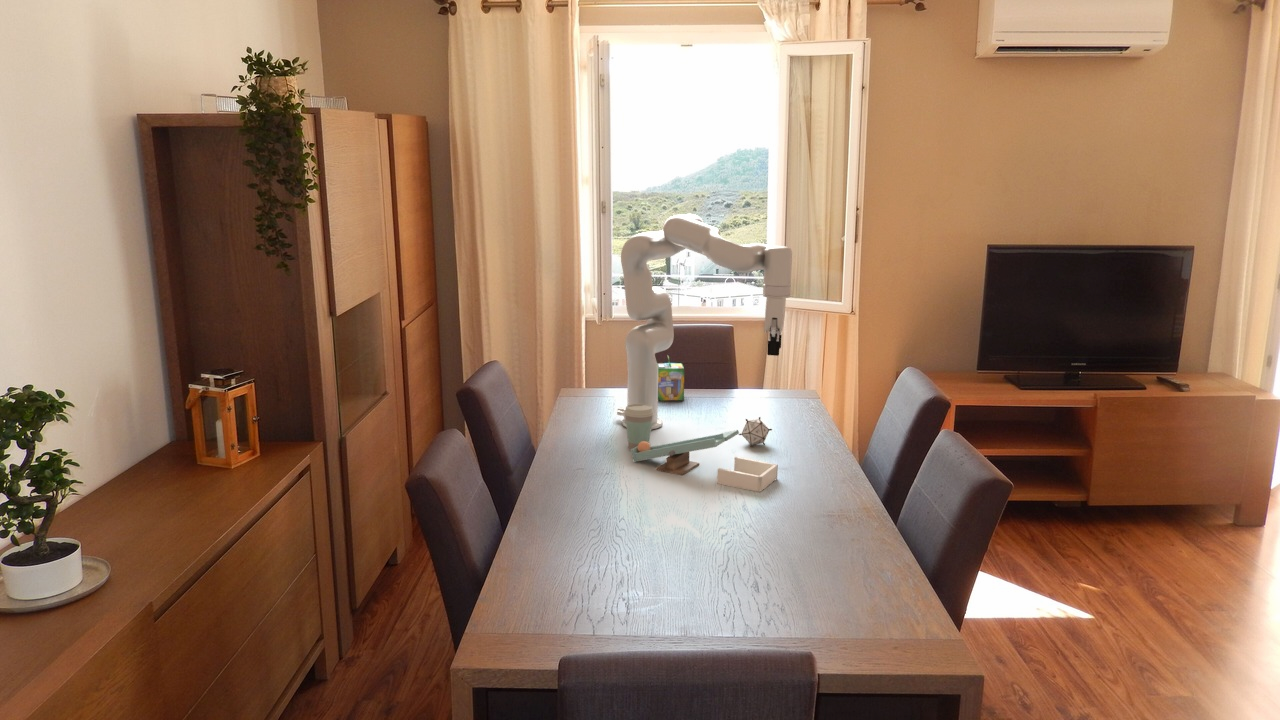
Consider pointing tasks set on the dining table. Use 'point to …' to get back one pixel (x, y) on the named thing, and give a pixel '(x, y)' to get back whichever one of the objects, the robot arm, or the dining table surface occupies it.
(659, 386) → the chalk box
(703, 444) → the lever
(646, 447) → the ball
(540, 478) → the dining table surface
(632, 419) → the coffee cup
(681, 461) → the fulcrum
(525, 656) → the dining table surface
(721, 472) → the tray
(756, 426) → the game die
